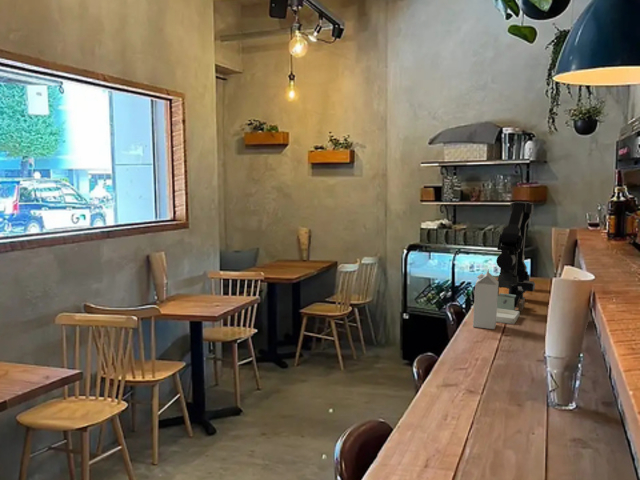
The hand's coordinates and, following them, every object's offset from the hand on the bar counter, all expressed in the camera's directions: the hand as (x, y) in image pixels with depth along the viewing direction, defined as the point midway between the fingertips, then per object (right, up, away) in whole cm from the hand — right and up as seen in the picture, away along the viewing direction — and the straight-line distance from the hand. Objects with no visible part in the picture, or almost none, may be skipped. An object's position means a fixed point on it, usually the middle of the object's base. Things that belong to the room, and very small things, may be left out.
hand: (506, 306), depth 228 cm
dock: (+3, -1, +6) cm, 7 cm away
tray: (-6, -3, -11) cm, 13 cm away
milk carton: (-14, -5, -22) cm, 26 cm away
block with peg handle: (0, -1, 0) cm, 1 cm away
